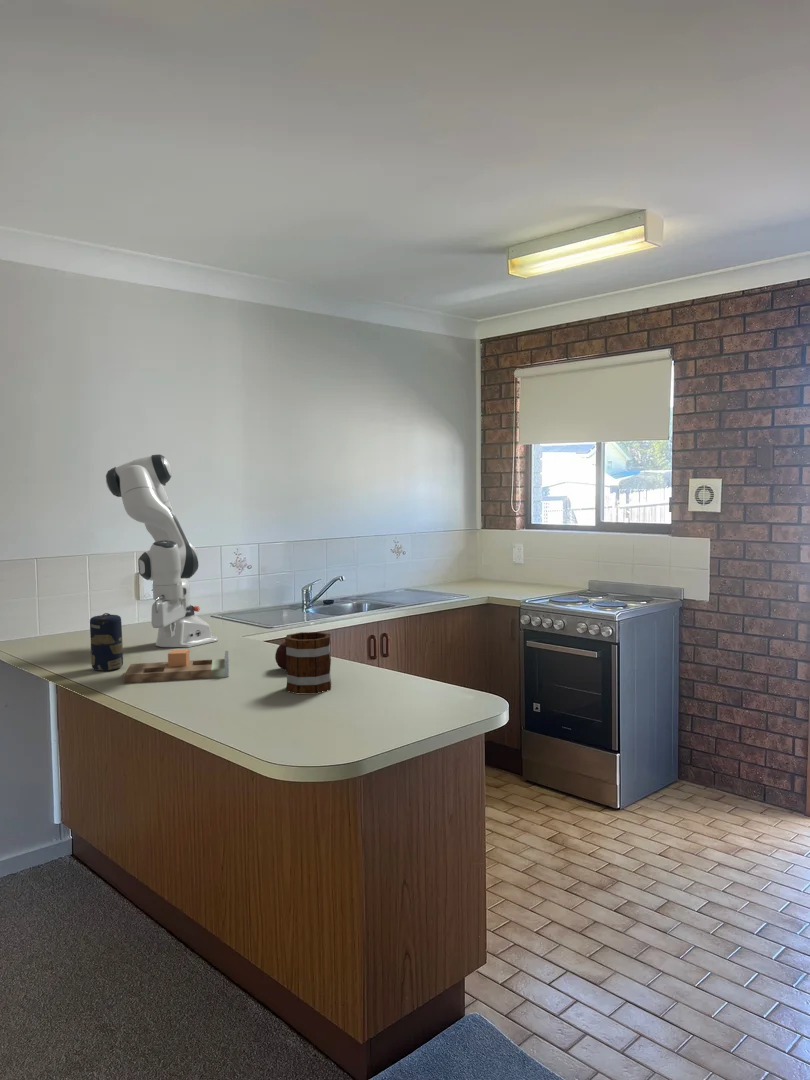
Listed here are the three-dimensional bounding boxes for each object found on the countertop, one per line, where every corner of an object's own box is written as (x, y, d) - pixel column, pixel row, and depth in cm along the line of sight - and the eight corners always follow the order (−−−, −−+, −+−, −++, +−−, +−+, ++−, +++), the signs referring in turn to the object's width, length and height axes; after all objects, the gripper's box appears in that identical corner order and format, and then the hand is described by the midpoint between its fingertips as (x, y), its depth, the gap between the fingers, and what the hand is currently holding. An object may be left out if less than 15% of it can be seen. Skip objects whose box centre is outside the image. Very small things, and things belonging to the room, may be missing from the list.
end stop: (225, 677, 239) (224, 660, 239) (225, 666, 254) (225, 650, 254) (228, 676, 239) (228, 660, 239) (228, 666, 254) (228, 650, 254)
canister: (129, 666, 255) (127, 611, 254) (107, 673, 246) (105, 616, 245) (107, 664, 259) (105, 610, 258) (84, 670, 250) (82, 614, 249)
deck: (124, 683, 233) (124, 674, 233) (130, 671, 248) (130, 663, 248) (225, 677, 239) (224, 668, 239) (225, 666, 254) (225, 658, 254)
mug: (319, 696, 216) (318, 642, 215) (276, 692, 221) (275, 639, 220) (349, 679, 234) (348, 629, 233) (308, 676, 239) (307, 627, 238)
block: (168, 666, 243) (167, 653, 243) (171, 662, 249) (171, 650, 249) (186, 665, 244) (186, 653, 244) (189, 662, 249) (189, 649, 249)
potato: (293, 665, 255) (292, 636, 254) (312, 671, 245) (311, 642, 245) (269, 669, 250) (268, 640, 249) (287, 675, 240) (287, 645, 239)
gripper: (165, 598, 235) (168, 643, 236) (188, 588, 255) (191, 630, 256) (144, 598, 235) (147, 644, 236) (169, 588, 255) (172, 630, 257)
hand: (170, 636), depth 246 cm, fingers closed
